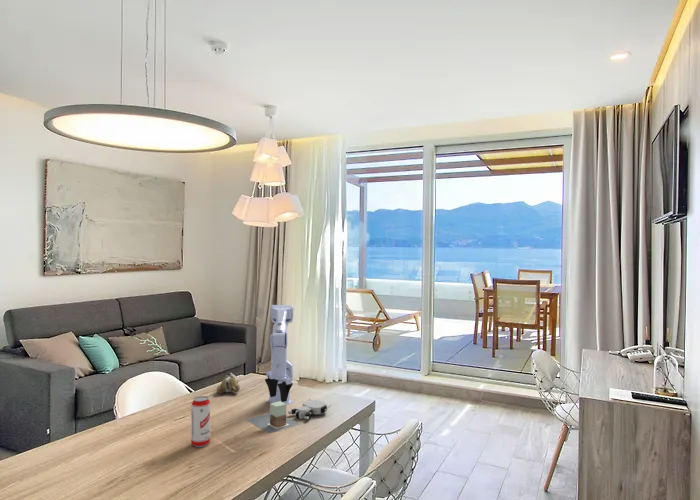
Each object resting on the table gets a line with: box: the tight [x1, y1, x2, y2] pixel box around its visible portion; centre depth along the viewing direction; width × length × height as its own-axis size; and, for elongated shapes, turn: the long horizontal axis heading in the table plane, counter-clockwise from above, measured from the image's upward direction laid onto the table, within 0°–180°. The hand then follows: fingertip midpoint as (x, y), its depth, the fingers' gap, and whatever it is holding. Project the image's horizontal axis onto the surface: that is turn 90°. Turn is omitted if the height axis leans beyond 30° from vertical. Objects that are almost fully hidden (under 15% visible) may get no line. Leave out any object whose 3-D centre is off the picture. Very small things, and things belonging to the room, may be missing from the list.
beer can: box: [190, 395, 211, 448], centre depth 163 cm, size 6×6×16 cm
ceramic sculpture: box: [216, 372, 241, 394], centre depth 224 cm, size 11×9×15 cm
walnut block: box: [270, 414, 287, 428], centre depth 181 cm, size 4×4×4 cm
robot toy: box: [287, 398, 332, 420], centre depth 193 cm, size 12×4×15 cm
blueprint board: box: [245, 412, 301, 434], centre depth 184 cm, size 18×14×1 cm
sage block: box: [269, 401, 287, 417], centre depth 181 cm, size 4×4×4 cm
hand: (278, 398), depth 181 cm, fingers open, 7 cm apart
